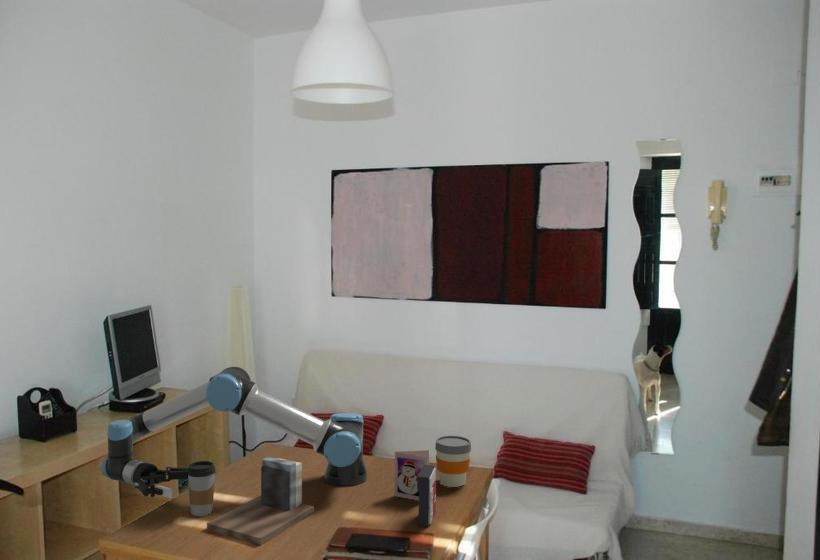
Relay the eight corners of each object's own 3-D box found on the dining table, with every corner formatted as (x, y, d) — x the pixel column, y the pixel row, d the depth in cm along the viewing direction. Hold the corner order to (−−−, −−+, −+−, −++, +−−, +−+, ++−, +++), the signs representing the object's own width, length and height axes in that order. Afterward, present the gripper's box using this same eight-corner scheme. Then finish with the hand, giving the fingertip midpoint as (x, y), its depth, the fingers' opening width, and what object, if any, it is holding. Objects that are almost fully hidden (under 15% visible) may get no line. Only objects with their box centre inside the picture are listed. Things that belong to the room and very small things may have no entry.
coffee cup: (191, 507, 210) (190, 460, 209) (218, 506, 210) (218, 460, 209) (184, 518, 201) (184, 470, 200) (212, 518, 202) (212, 469, 201)
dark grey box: (430, 527, 198) (431, 477, 197) (416, 525, 199) (417, 476, 198) (436, 512, 209) (437, 465, 208) (423, 510, 210) (423, 464, 209)
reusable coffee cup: (433, 488, 228) (433, 445, 227) (435, 475, 241) (436, 434, 240) (469, 490, 227) (470, 447, 226) (470, 477, 239) (471, 436, 238)
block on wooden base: (206, 529, 194) (206, 475, 193) (263, 499, 216) (263, 451, 215) (260, 545, 185) (260, 489, 184) (313, 512, 207) (314, 462, 206)
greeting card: (393, 496, 221) (393, 452, 220) (403, 489, 227) (403, 446, 226) (424, 503, 216) (425, 457, 215) (433, 495, 222) (434, 451, 221)
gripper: (171, 473, 228) (218, 484, 218) (108, 498, 206) (157, 512, 196) (171, 451, 227) (217, 462, 218) (107, 474, 205) (156, 487, 196)
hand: (189, 486), depth 207 cm, fingers open, 13 cm apart
